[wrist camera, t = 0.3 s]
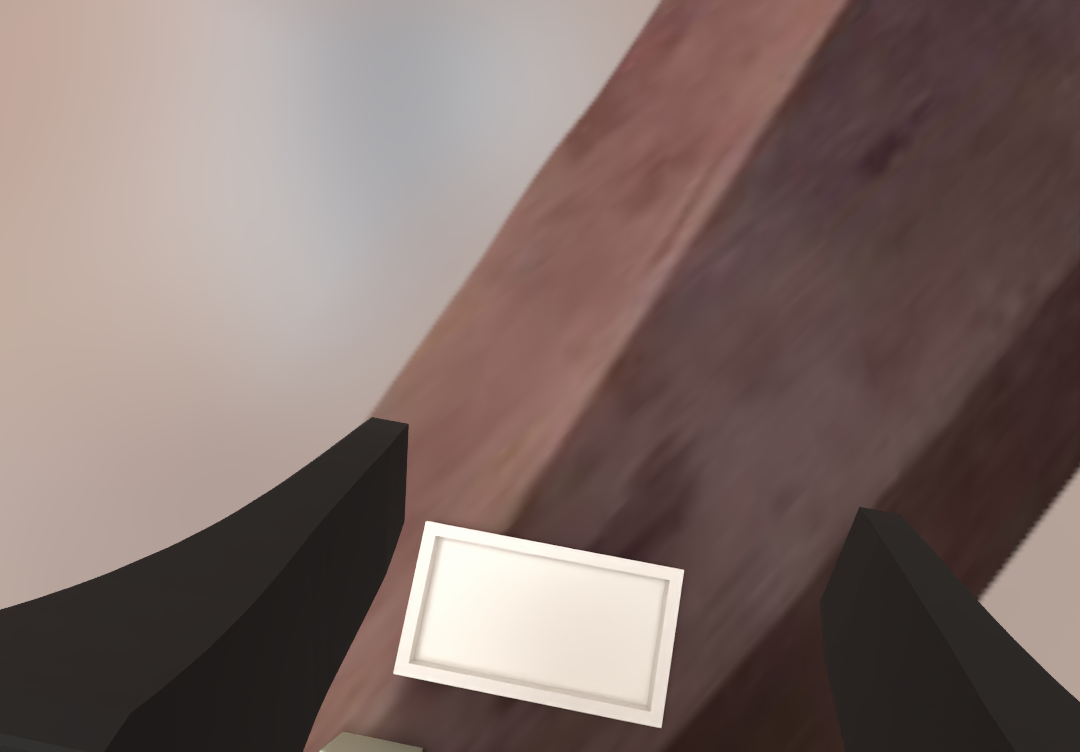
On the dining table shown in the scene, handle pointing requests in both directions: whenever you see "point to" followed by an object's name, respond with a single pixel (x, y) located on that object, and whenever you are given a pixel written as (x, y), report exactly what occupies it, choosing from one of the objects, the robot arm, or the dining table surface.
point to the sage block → (365, 745)
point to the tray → (541, 623)
